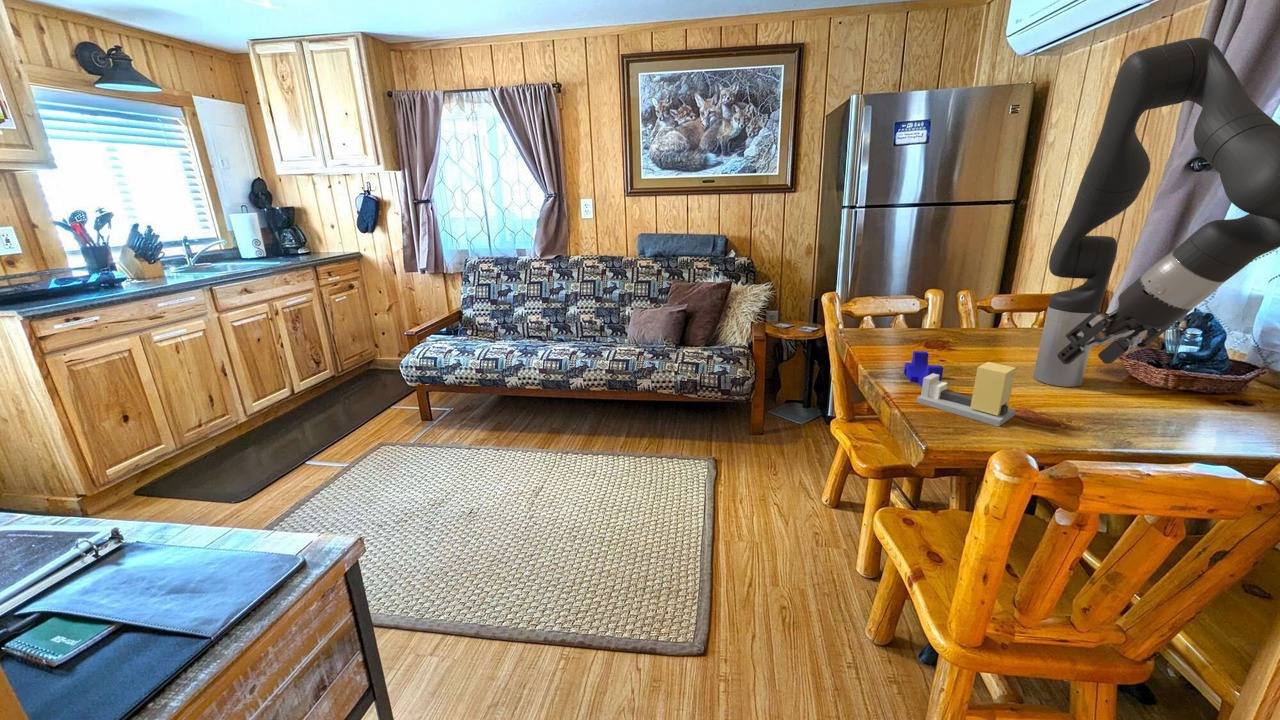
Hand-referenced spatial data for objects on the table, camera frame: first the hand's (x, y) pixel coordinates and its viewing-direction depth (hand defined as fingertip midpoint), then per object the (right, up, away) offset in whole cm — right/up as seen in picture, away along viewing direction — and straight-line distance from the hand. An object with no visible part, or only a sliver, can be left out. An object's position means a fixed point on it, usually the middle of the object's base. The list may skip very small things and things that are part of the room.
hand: (1082, 360), depth 91 cm
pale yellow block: (-4, -10, +19) cm, 21 cm away
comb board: (-6, -10, +23) cm, 26 cm away
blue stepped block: (-8, -6, +38) cm, 39 cm away
